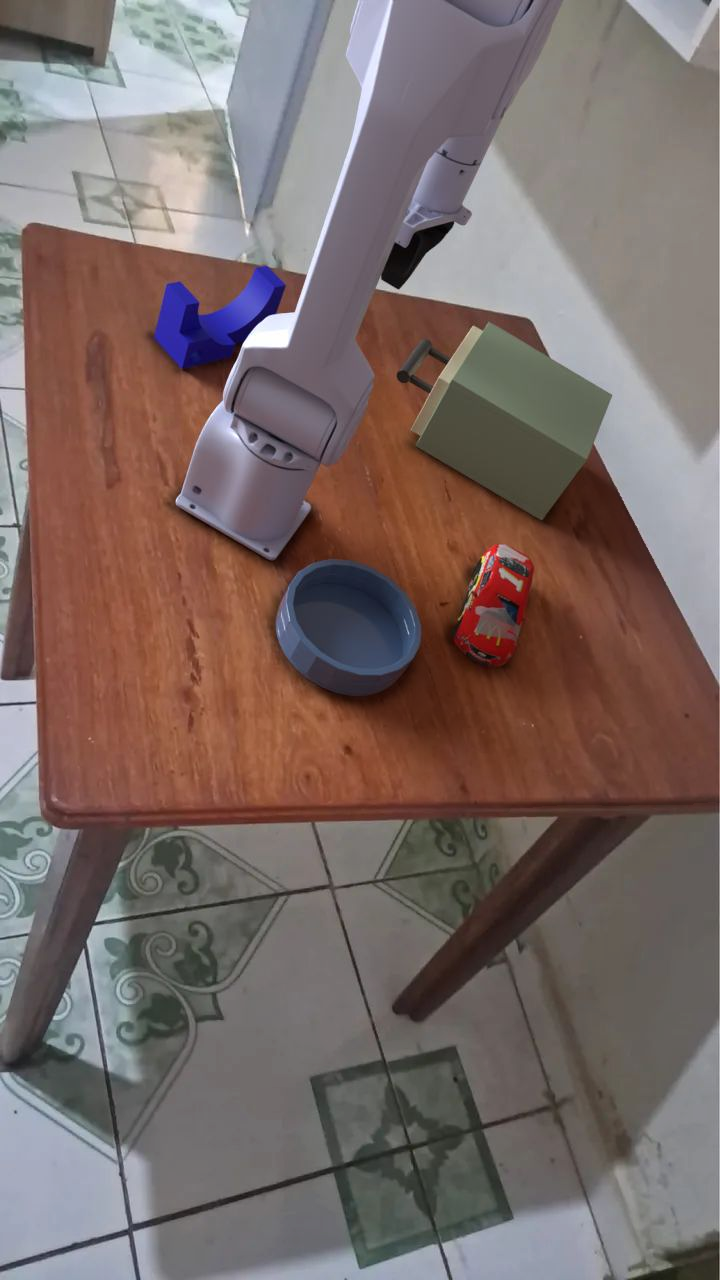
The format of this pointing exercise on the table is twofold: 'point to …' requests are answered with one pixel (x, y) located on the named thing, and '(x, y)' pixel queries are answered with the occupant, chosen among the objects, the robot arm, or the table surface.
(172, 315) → the cable clip
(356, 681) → the bowl
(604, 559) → the table surface
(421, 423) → the drawer
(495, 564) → the race car
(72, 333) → the table surface
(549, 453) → the cabinet
